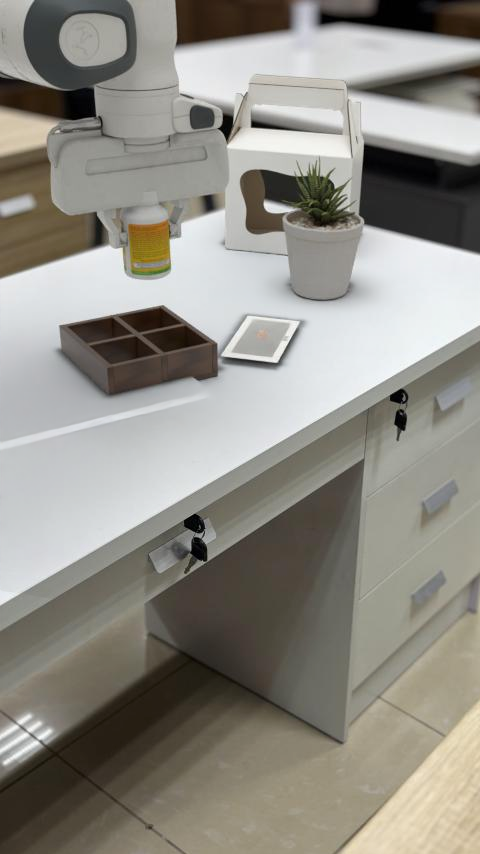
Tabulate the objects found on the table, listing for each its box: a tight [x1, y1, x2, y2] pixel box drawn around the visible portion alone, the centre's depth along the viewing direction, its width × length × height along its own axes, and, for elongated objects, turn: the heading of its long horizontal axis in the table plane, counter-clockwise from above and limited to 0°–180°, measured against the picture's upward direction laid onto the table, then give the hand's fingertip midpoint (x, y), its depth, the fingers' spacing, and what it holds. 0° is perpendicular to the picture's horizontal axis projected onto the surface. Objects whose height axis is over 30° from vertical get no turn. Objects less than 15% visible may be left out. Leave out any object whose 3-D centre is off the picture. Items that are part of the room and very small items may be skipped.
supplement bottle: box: [119, 191, 172, 281], centre depth 107 cm, size 5×5×10 cm
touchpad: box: [220, 315, 301, 364], centre depth 133 cm, size 8×15×2 cm, turn 167°
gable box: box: [224, 73, 365, 256], centre depth 164 cm, size 22×13×28 cm, turn 77°
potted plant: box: [280, 157, 365, 301], centre depth 147 cm, size 13×14×20 cm
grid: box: [58, 304, 219, 396], centre depth 125 cm, size 15×15×5 cm
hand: (146, 242), depth 108 cm, fingers closed on supplement bottle, 5 cm apart
